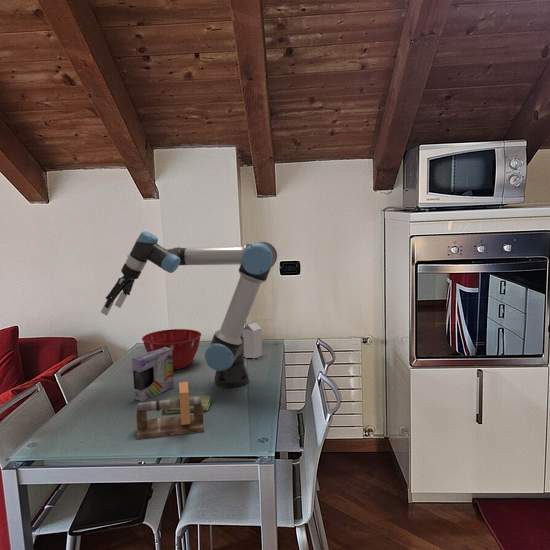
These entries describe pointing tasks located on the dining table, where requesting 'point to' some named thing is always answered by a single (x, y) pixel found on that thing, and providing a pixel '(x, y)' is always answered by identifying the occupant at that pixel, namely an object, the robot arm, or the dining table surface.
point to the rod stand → (168, 418)
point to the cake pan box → (152, 373)
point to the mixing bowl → (175, 344)
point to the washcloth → (204, 400)
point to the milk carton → (252, 340)
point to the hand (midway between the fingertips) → (110, 310)
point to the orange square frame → (184, 403)
